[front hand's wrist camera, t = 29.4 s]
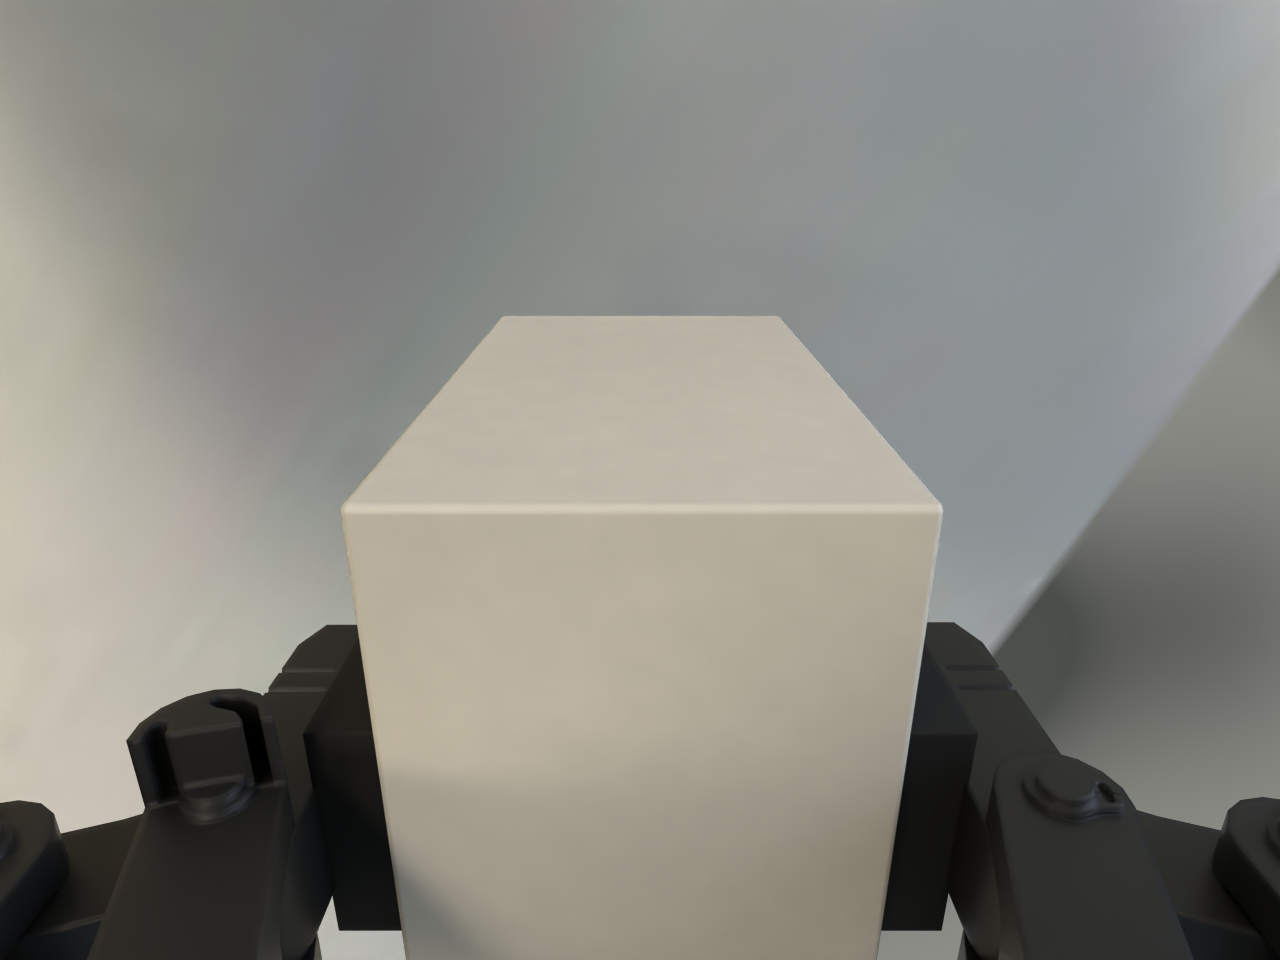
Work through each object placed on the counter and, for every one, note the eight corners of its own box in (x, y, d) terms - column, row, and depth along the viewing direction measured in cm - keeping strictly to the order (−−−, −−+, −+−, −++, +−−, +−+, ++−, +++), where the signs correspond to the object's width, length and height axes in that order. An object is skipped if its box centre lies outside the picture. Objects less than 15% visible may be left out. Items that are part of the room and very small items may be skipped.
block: (522, 663, 18) (422, 1094, 10) (501, 315, 15) (336, 505, 7) (758, 662, 18) (859, 1094, 10) (780, 315, 15) (948, 506, 7)
